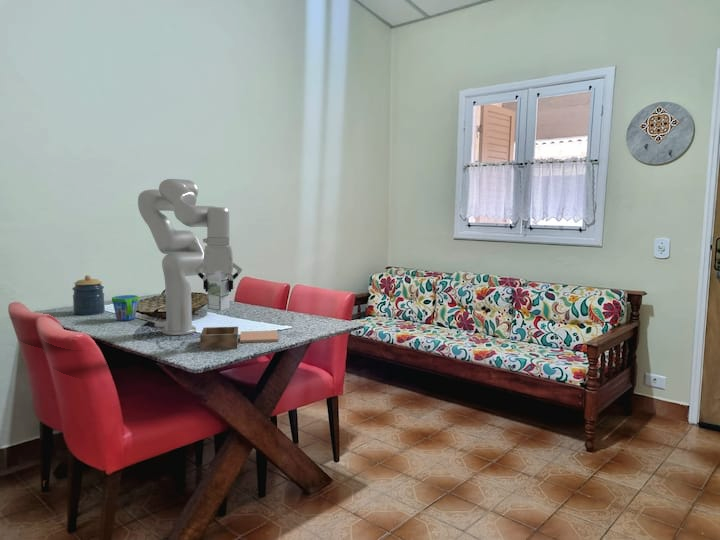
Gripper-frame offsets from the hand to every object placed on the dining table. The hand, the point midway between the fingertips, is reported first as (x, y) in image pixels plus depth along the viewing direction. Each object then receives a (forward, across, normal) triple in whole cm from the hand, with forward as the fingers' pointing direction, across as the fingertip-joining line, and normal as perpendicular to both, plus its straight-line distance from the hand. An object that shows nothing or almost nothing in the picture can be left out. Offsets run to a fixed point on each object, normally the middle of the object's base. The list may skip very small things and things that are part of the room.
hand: (218, 291), depth 181 cm
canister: (+22, -62, +66) cm, 94 cm away
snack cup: (+21, -42, +48) cm, 68 cm away
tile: (+19, +15, +7) cm, 25 cm away
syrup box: (+7, 0, 0) cm, 7 cm away
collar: (+19, +1, -1) cm, 19 cm away
